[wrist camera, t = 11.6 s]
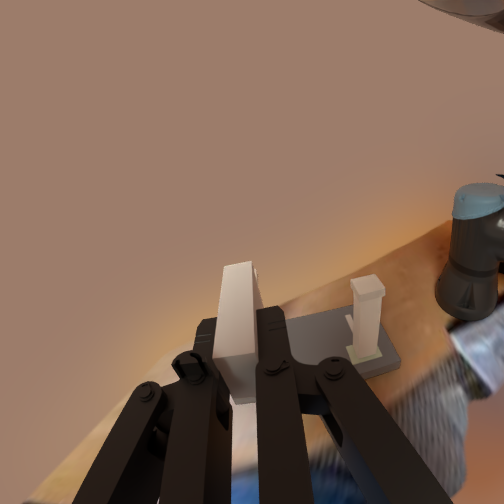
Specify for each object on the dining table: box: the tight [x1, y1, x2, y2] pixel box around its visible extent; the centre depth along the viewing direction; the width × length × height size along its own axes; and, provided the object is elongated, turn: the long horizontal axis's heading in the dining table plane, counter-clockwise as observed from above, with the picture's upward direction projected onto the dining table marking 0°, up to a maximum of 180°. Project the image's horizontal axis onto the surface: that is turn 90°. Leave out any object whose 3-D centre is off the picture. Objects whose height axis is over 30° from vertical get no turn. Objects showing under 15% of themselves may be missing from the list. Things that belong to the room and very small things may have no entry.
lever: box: [350, 274, 386, 359], centre depth 35 cm, size 4×4×13 cm
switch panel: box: [233, 305, 401, 405], centre depth 43 cm, size 26×16×2 cm, turn 92°
